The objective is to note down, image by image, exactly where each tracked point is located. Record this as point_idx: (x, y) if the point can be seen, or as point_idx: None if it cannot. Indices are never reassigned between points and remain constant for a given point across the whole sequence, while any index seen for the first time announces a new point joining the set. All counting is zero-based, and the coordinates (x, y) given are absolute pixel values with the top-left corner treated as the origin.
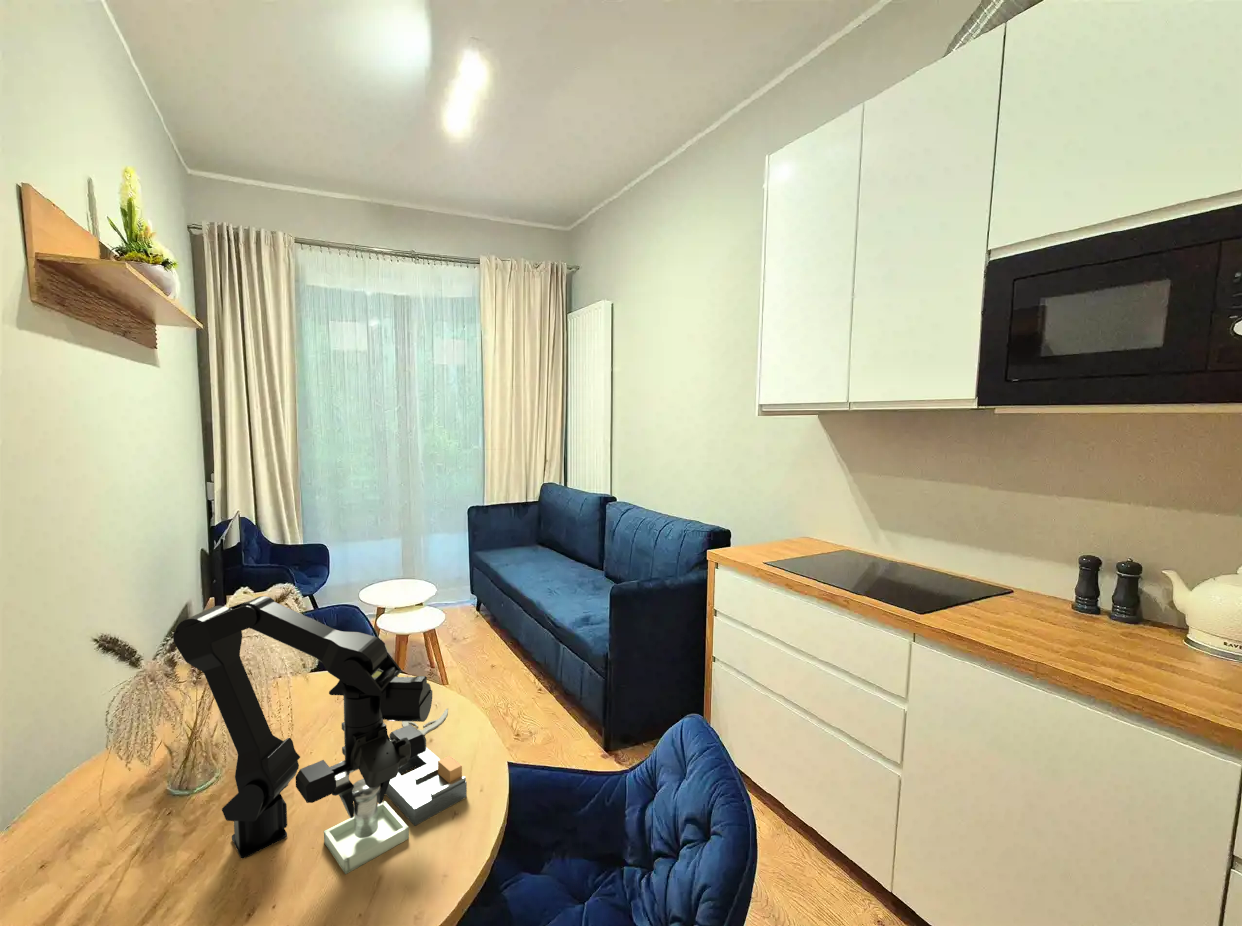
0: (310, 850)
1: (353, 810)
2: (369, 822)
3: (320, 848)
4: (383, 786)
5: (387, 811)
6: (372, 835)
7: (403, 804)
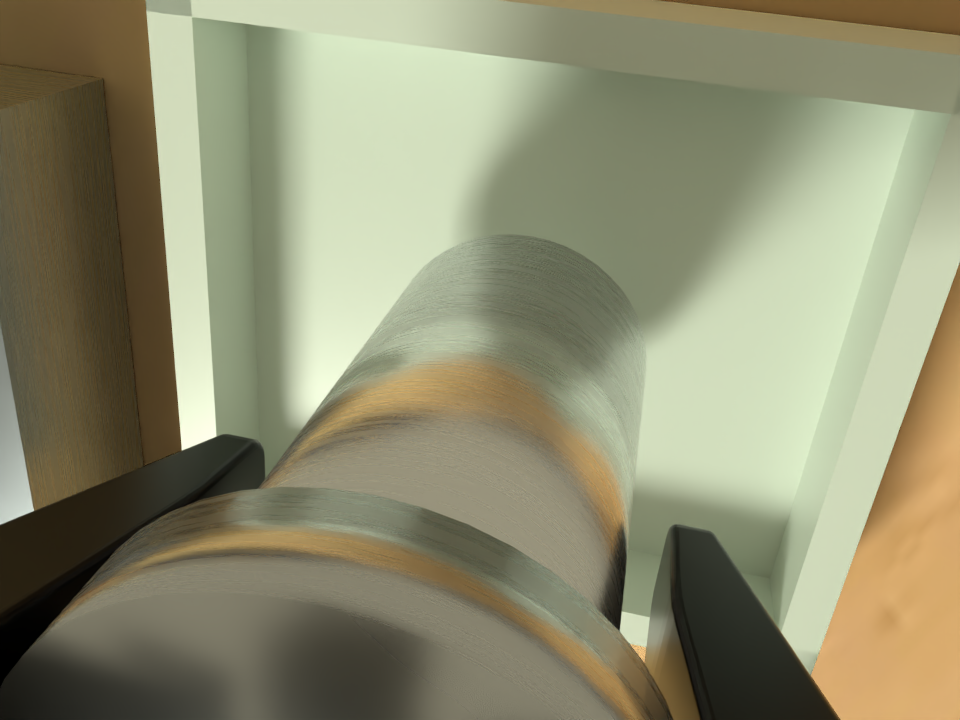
0: (924, 613)
1: (686, 597)
2: (510, 312)
3: (857, 565)
4: (7, 595)
5: (228, 420)
6: None
7: (66, 366)
